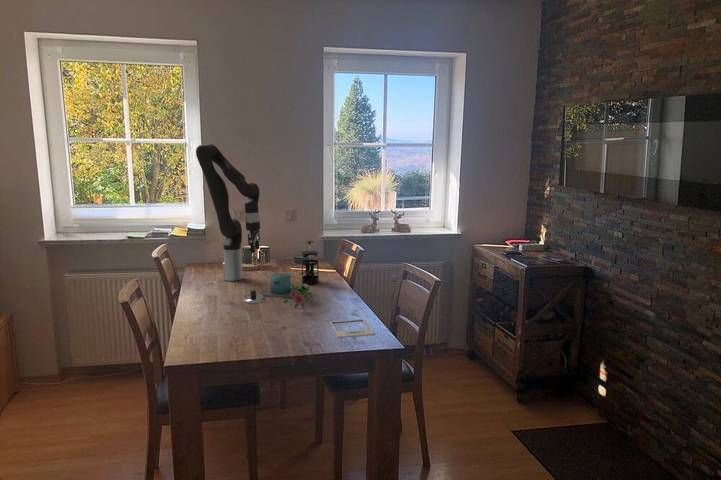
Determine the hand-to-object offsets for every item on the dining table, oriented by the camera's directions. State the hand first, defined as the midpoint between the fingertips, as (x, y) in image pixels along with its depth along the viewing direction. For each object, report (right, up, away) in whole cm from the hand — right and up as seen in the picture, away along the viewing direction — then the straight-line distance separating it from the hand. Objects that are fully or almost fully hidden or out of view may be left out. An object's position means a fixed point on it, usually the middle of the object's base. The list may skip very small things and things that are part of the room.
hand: (255, 250), depth 293 cm
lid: (+5, -24, -31) cm, 39 cm away
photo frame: (+53, -31, -71) cm, 94 cm away
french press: (+30, -18, +1) cm, 34 cm away
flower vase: (+29, -24, -35) cm, 52 cm away
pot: (+17, -21, -19) cm, 33 cm away
